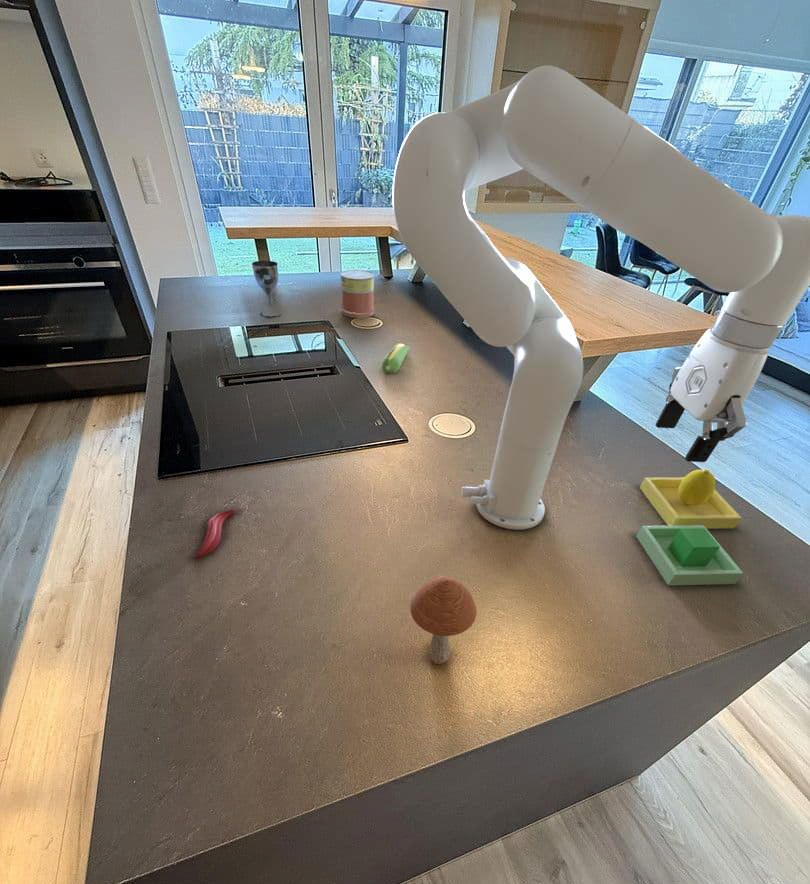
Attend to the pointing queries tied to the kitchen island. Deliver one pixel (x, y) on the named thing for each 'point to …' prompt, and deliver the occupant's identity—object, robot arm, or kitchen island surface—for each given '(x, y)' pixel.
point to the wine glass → (266, 276)
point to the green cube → (693, 547)
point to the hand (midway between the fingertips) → (678, 443)
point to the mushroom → (443, 613)
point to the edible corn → (395, 358)
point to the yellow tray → (687, 506)
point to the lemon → (697, 487)
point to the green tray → (673, 574)
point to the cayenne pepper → (213, 532)
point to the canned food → (357, 292)
